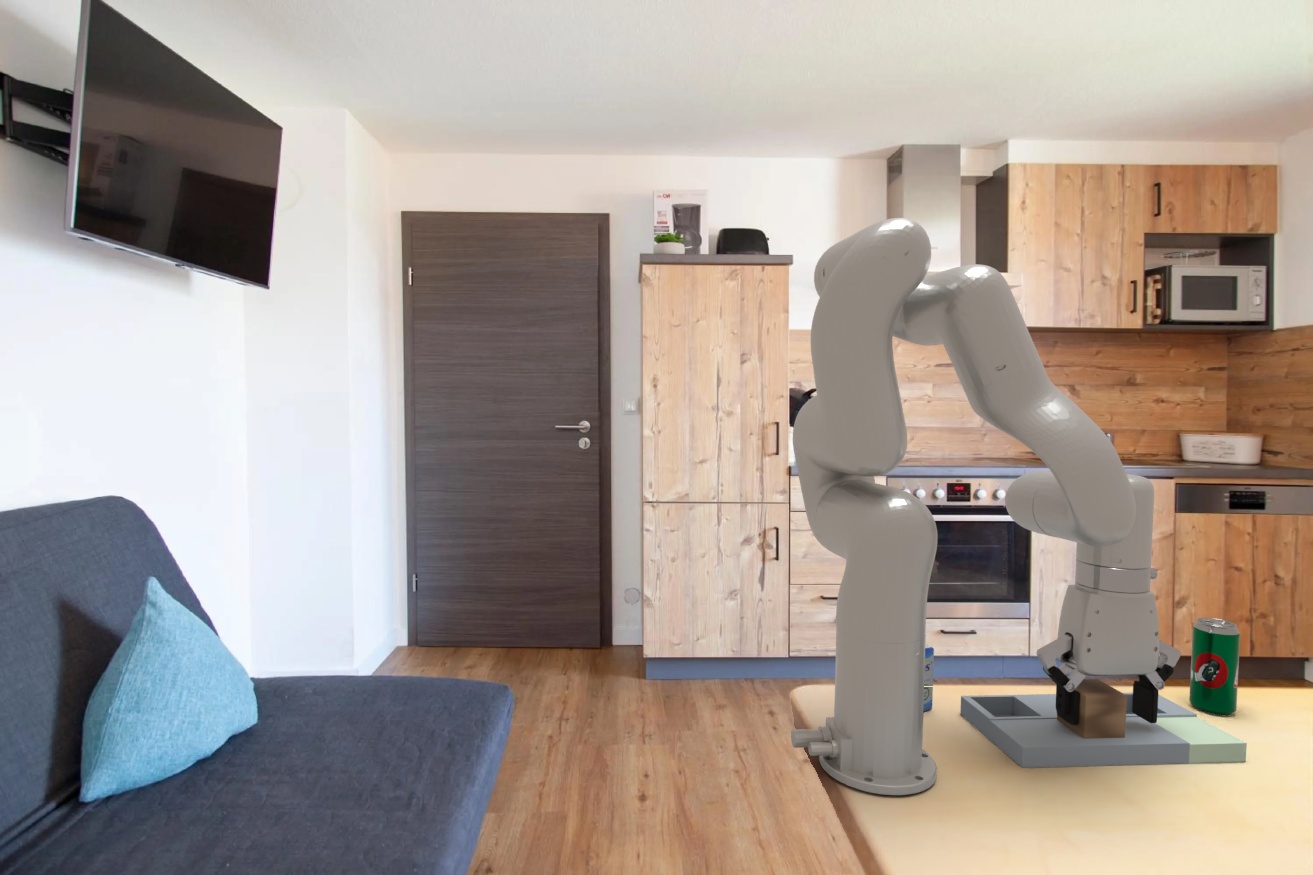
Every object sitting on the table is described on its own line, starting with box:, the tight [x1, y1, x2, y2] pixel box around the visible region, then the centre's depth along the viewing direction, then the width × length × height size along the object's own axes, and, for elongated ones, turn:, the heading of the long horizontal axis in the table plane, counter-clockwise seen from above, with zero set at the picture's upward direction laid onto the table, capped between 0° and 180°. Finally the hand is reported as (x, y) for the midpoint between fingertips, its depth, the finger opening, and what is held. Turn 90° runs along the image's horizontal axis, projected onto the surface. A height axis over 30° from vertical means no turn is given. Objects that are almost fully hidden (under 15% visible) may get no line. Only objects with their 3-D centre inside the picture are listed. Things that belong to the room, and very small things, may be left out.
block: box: [1057, 678, 1127, 739], centre depth 86 cm, size 5×5×5 cm
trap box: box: [960, 692, 1248, 769], centre depth 89 cm, size 27×14×2 cm, turn 94°
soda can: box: [1188, 617, 1241, 716], centre depth 98 cm, size 5×5×12 cm
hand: (1105, 719), depth 86 cm, fingers open, 9 cm apart
